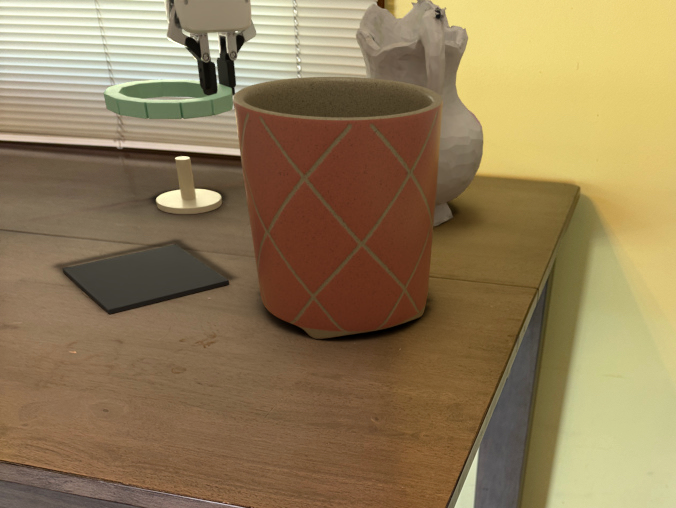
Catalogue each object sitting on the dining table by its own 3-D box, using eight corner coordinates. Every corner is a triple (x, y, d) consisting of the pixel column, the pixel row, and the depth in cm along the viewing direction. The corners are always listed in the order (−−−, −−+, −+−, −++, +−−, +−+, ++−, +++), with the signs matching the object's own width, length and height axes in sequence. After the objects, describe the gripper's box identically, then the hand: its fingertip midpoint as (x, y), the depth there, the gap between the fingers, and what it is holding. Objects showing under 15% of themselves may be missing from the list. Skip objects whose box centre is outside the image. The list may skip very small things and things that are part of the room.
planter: (466, 322, 79) (483, 107, 66) (300, 361, 72) (283, 127, 59) (380, 262, 92) (380, 71, 79) (230, 290, 84) (203, 84, 71)
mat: (109, 314, 79) (108, 309, 79) (63, 272, 87) (62, 268, 87) (229, 284, 85) (229, 280, 85) (176, 248, 94) (175, 244, 93)
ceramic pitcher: (508, 241, 101) (546, 17, 86) (376, 249, 94) (392, 5, 78) (433, 196, 116) (454, -2, 101) (314, 200, 108) (317, -14, 93)
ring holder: (173, 218, 102) (165, 170, 98) (146, 201, 107) (137, 155, 104) (233, 206, 106) (227, 160, 102) (204, 190, 112) (198, 146, 108)
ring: (137, 124, 90) (134, 107, 89) (89, 100, 100) (86, 85, 98) (254, 111, 98) (253, 95, 97) (199, 90, 107) (197, 76, 106)
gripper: (243, -82, 96) (257, 85, 108) (123, -85, 88) (152, 94, 100) (274, -79, 91) (284, 94, 103) (149, -83, 84) (176, 105, 96)
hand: (219, 93), depth 102 cm, fingers closed on ring, 1 cm apart
